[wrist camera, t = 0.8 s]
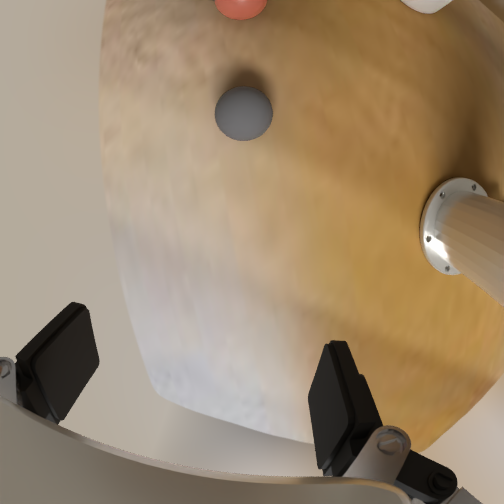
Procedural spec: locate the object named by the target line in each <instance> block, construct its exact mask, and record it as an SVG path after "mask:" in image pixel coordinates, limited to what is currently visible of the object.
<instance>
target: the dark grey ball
mask: <svg viewBox="0 0 504 504" xmlns="http://www.w3.org/2000/svg"><path fill="white" fill-rule="evenodd" d="M272 117H273V111H272V106H271V103H270V101H269V99H268V98H267V97H266V95H265V94H264V93H262V92H261V91H259V90H257V89H255V88H252V87H247V86H241V87H235V88H233V89H230V90H228V91H227V92H226V93H224V94H223V95H222V96H221V97H220V99H219V100H218V102H217V105H216V108H215V119H216V123H217V125H218V127H219V129H220V130H221V131H222V132H223V133H224V134H225V135H226V136H228V137H230V138H232V139H235V140H239V141H248V140H252V139H255V138H257V137H259V136H261V135H262V134H263V133H264V132H265V131H266V130H267V129H268V127H269V126H270V124H271V121H272Z"/></svg>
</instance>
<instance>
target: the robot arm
mask: <svg viewBox="0 0 504 504" xmlns="http://www.w3.org/2000/svg"><path fill="white" fill-rule="evenodd" d="M420 241H421V246H422V250H423V252H424V255H425V257H426V259H427V260H428V262H429V263H430V264H431V265H432V266H433V267H434V268H435V269H437V270H438V271H440V272H441V273H444V274H447V275H457V274H461V273H462V274H463V275H465V276H466V277H467V278H469V279H470V280H471V281H472V282H474V283H475V284H476V285H477V286H479V287H480V288H481V289H482V290H484V291H485V292H486V293H487V294H489V295H490V296H491V297H492V298H493V299H495V300H496V301H497V302H498V303H499V304H500V305H502V306H503V307H504V202H502V201H499V200H496V199H493V198H489V197H488V195H487V193H486V192H485V190H484V189H483V188H482V187H481V186H480V185H479V184H478V183H477V182H475V181H473V180H471V179H467V178H461V177H456V178H451V179H449V180H447V181H445V182H443V183H442V184H441V185H439V186H438V187H437V188H436V189H435V190H434V192H433V193H432V194H431V196H430V197H429V199H428V201H427V203H426V205H425V208H424V210H423V214H422V218H421V223H420ZM16 359H17V362H16V363H14V362H13V360H12V359H10V358H7V357H0V504H482V503H481V502H480V501H479V500H477V499H476V498H475V497H474V496H473V495H471V494H470V493H469V492H468V491H467V490H465V489H464V488H463V487H462V488H460V489H459V488H458V487H457V478H456V475H455V474H454V473H453V471H452V470H450V469H449V468H447V467H445V466H443V465H441V464H439V463H436V462H434V461H432V460H430V459H428V458H426V457H424V456H422V455H420V454H418V453H416V452H414V451H412V450H410V448H411V440H410V438H409V436H408V434H407V433H406V432H405V431H403V430H402V429H400V428H398V427H395V426H388V425H387V426H383V424H382V421H381V418H380V416H379V413H378V410H377V408H376V405H375V402H374V400H373V397H372V394H371V392H370V389H369V387H368V384H367V382H366V379H365V377H364V375H362V374H359V372H358V370H357V367H356V365H355V362H354V359H353V357H352V354H351V352H350V349H349V347H348V344H347V342H346V341H335V340H332V341H330V343H329V344H325V346H324V349H323V352H322V355H321V358H320V361H319V364H318V367H317V370H316V373H315V376H314V379H313V382H312V385H311V388H310V391H309V394H308V403H309V409H310V416H311V423H312V430H313V437H314V444H315V451H316V458H317V466H318V469H322V470H323V476H333V477H283V476H261V475H260V476H259V475H247V474H236V473H227V472H219V471H212V470H205V469H199V468H193V467H188V466H183V465H178V464H173V463H169V462H164V461H160V460H156V459H152V458H148V457H144V456H141V455H137V454H134V453H130V452H127V451H124V450H121V449H117V448H114V447H112V446H109V445H106V444H103V443H100V442H98V441H95V440H92V439H90V438H87V437H85V436H82V435H80V434H77V433H75V432H72V431H70V430H68V429H66V428H63V427H61V426H59V425H58V424H59V422H60V420H64V419H65V417H66V416H67V414H68V412H69V411H70V409H71V407H72V406H73V404H74V403H75V401H76V399H77V398H78V397H79V395H80V393H81V392H82V390H83V388H84V387H85V386H86V384H87V383H88V381H89V379H90V378H91V377H92V375H93V374H94V372H95V370H96V369H97V368H98V366H99V356H98V352H97V347H96V343H95V339H94V334H93V329H92V324H91V319H90V313H89V310H88V309H87V308H86V306H85V305H83V304H80V303H76V302H71V303H70V304H69V305H68V306H67V307H66V308H64V309H63V310H62V311H61V312H60V313H59V314H58V315H57V316H56V317H55V318H54V319H52V320H51V321H50V322H49V323H48V324H47V325H46V326H45V327H44V328H43V329H42V330H41V331H40V332H39V333H38V334H37V335H36V336H35V337H34V338H33V339H32V340H31V341H30V342H29V343H28V344H27V345H26V346H25V347H24V348H23V349H22V350H21V351H20V352H19V353H18V354H17V355H16Z"/></svg>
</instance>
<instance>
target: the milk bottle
mask: <svg viewBox="0 0 504 504" xmlns="http://www.w3.org/2000/svg"><path fill="white" fill-rule="evenodd" d="M401 1H402V2H403V3H404V4H405V5H407V6H408V7H410V8H411V9H414V10H415V11H418V12H421V13H428V14H431V13H435V12H437V11H438V10H440V9H441V8H443V7H444V6H445V5H447V4H448V3H450V2H451V1H452V0H401Z"/></svg>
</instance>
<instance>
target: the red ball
mask: <svg viewBox="0 0 504 504" xmlns="http://www.w3.org/2000/svg"><path fill="white" fill-rule="evenodd" d="M266 3H267V0H215V5H216V7H217V9H218V10H219V11H220V12H221V13H222V14H223V15H225V16H226V17H229V18H231V19H236V20H245V19H249V18H252V17H254V16H256V15H258V14H259V13H260V12H261V11H262V10H263V9H264V8H265V6H266Z"/></svg>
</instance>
